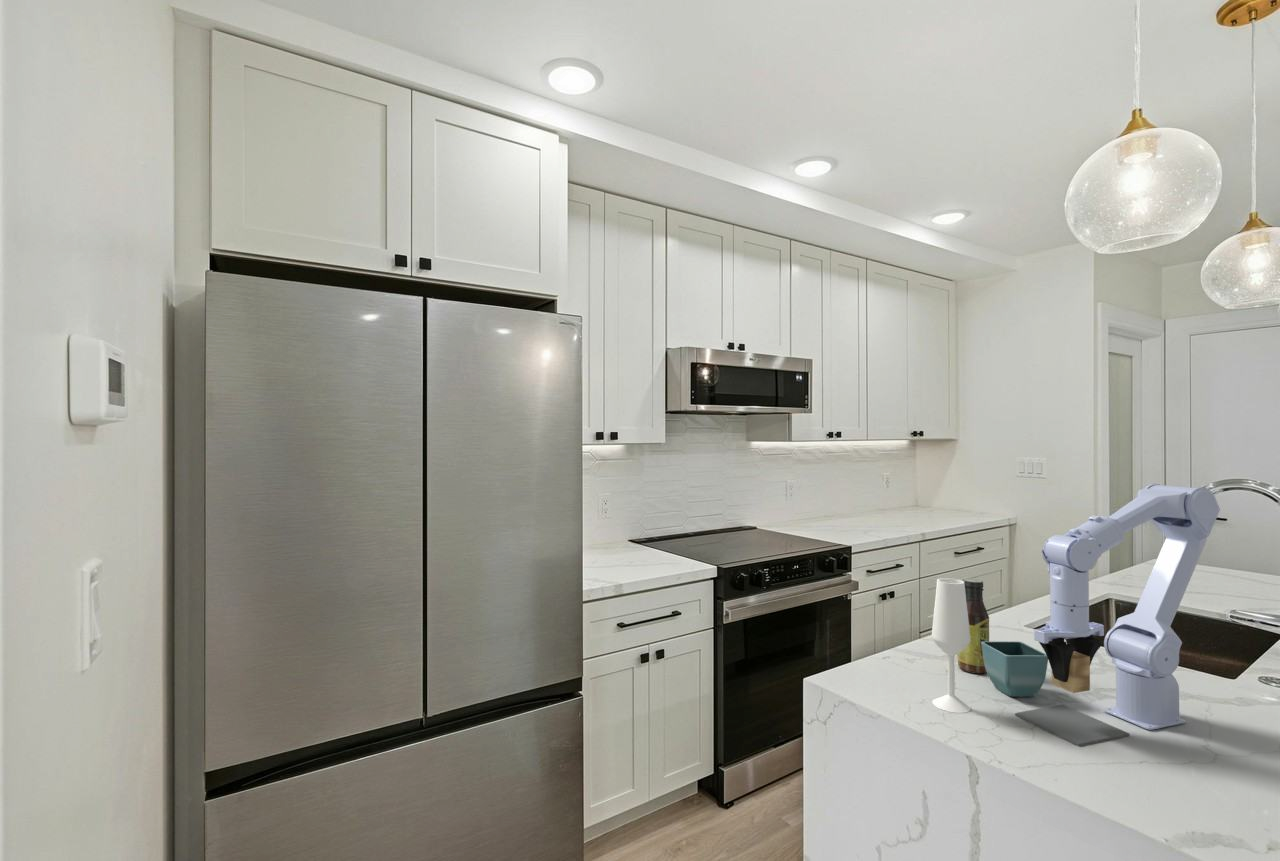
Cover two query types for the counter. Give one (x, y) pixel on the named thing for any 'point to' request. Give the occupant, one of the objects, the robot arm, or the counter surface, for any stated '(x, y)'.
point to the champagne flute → (951, 634)
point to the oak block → (1076, 674)
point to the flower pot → (1014, 667)
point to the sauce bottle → (975, 628)
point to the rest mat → (1071, 725)
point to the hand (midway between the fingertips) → (1069, 678)
